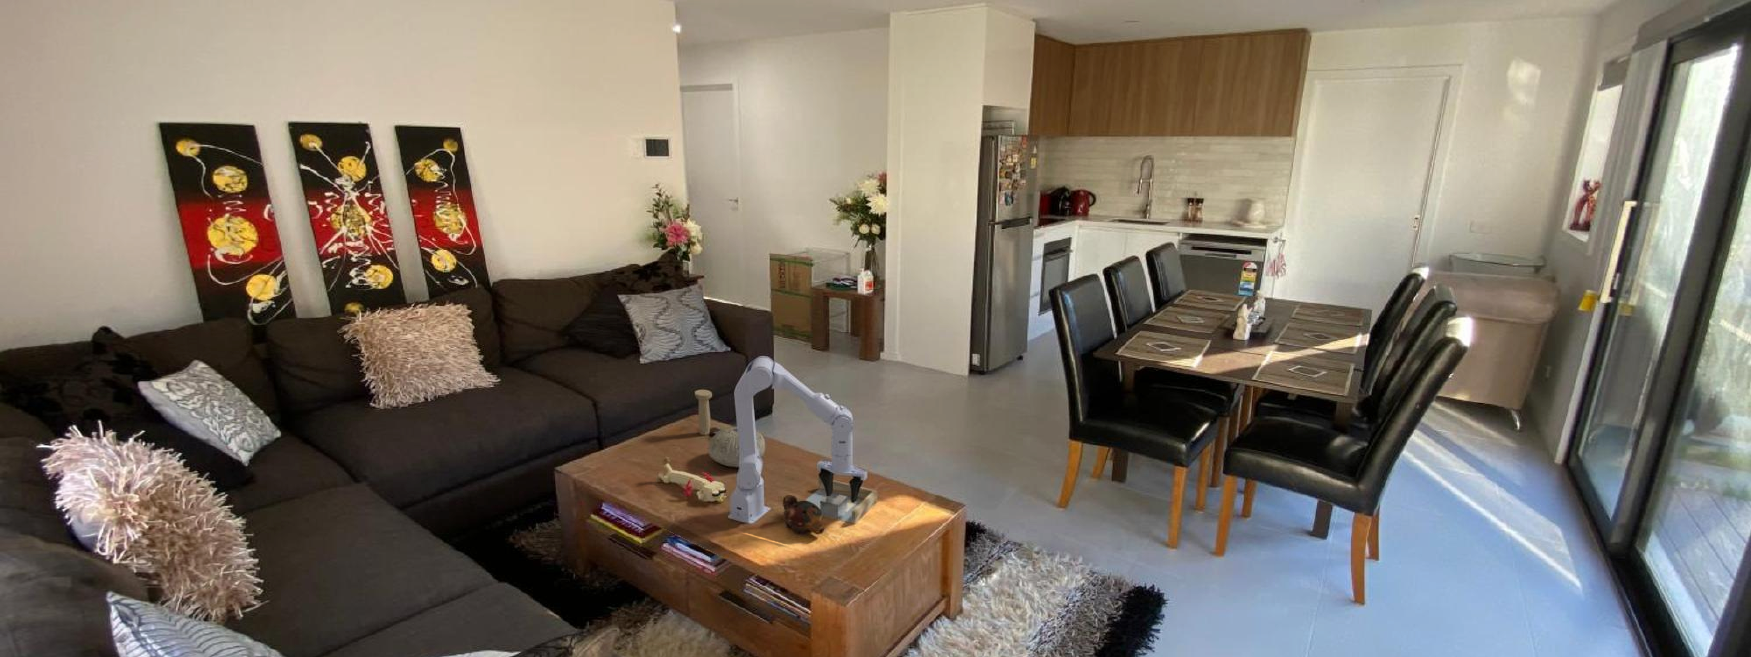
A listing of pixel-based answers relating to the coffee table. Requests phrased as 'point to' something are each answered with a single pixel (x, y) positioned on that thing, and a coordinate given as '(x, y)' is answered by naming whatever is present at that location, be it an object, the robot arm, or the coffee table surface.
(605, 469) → the coffee table surface
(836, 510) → the bracket
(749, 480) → the robot arm
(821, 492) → the board
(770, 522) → the coffee table surface
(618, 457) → the coffee table surface
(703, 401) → the handle
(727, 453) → the decorative shell
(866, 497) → the walls
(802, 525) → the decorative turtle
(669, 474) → the cream blocky elongated figure
